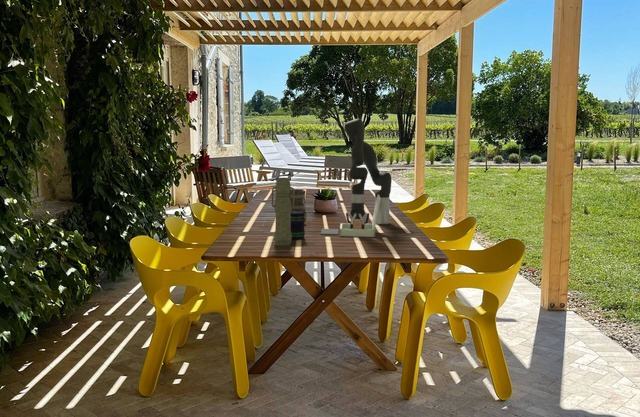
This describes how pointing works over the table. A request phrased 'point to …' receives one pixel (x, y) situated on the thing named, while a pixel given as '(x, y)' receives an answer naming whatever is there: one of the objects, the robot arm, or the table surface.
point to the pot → (357, 224)
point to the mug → (298, 200)
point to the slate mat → (329, 231)
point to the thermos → (283, 211)
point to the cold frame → (368, 228)
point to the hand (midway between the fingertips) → (357, 230)
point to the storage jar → (297, 225)
